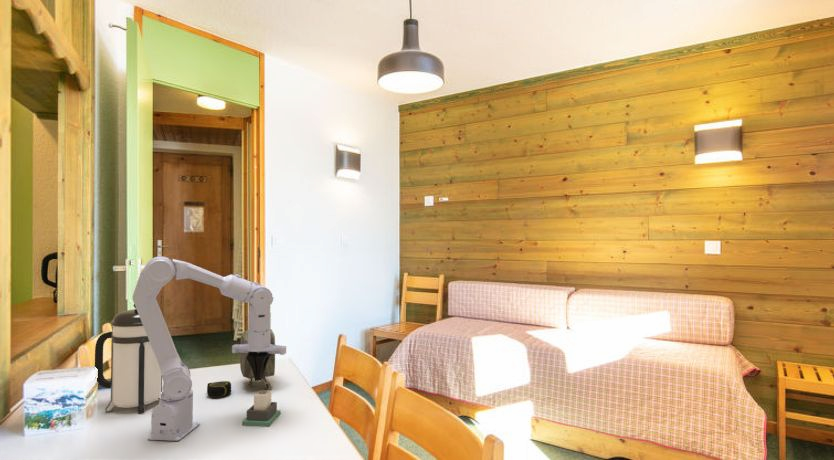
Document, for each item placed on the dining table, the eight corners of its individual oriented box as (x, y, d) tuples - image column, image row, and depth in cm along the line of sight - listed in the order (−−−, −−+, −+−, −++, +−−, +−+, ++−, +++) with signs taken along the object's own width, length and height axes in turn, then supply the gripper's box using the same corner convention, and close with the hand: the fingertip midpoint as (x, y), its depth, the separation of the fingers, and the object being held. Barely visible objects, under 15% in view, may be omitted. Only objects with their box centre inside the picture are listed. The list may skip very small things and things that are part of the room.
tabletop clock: (274, 390, 141) (275, 311, 142) (244, 394, 137) (245, 313, 137) (267, 377, 154) (268, 304, 154) (239, 380, 150) (240, 306, 150)
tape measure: (230, 390, 141) (231, 378, 141) (231, 398, 135) (231, 385, 135) (207, 393, 139) (207, 381, 139) (206, 401, 132) (206, 388, 132)
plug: (265, 418, 118) (265, 393, 118) (253, 418, 118) (253, 393, 118) (271, 412, 122) (271, 388, 122) (259, 412, 122) (259, 388, 122)
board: (269, 426, 115) (269, 412, 115) (242, 425, 116) (242, 411, 116) (280, 413, 123) (280, 401, 123) (255, 412, 124) (255, 400, 124)
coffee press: (162, 391, 139) (163, 295, 139) (170, 408, 126) (171, 302, 126) (94, 404, 129) (95, 300, 129) (94, 423, 116) (96, 308, 116)
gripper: (290, 327, 125) (289, 375, 125) (240, 326, 127) (240, 374, 127) (281, 333, 118) (280, 384, 118) (228, 331, 120) (227, 382, 120)
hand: (258, 379), depth 122 cm, fingers closed
